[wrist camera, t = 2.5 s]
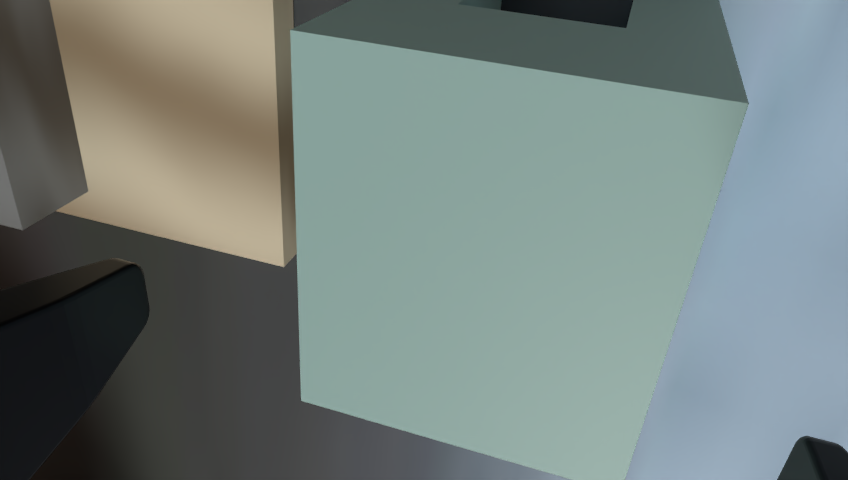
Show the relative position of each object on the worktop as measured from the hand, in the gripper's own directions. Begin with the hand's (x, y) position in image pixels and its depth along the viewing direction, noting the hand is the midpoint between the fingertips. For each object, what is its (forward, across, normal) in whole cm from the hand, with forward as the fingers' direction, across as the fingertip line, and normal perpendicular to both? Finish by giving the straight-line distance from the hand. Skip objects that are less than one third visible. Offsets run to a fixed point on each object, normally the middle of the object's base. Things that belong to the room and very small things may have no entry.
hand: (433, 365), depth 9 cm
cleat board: (+9, +13, 0) cm, 16 cm away
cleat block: (+9, 0, 0) cm, 9 cm away
